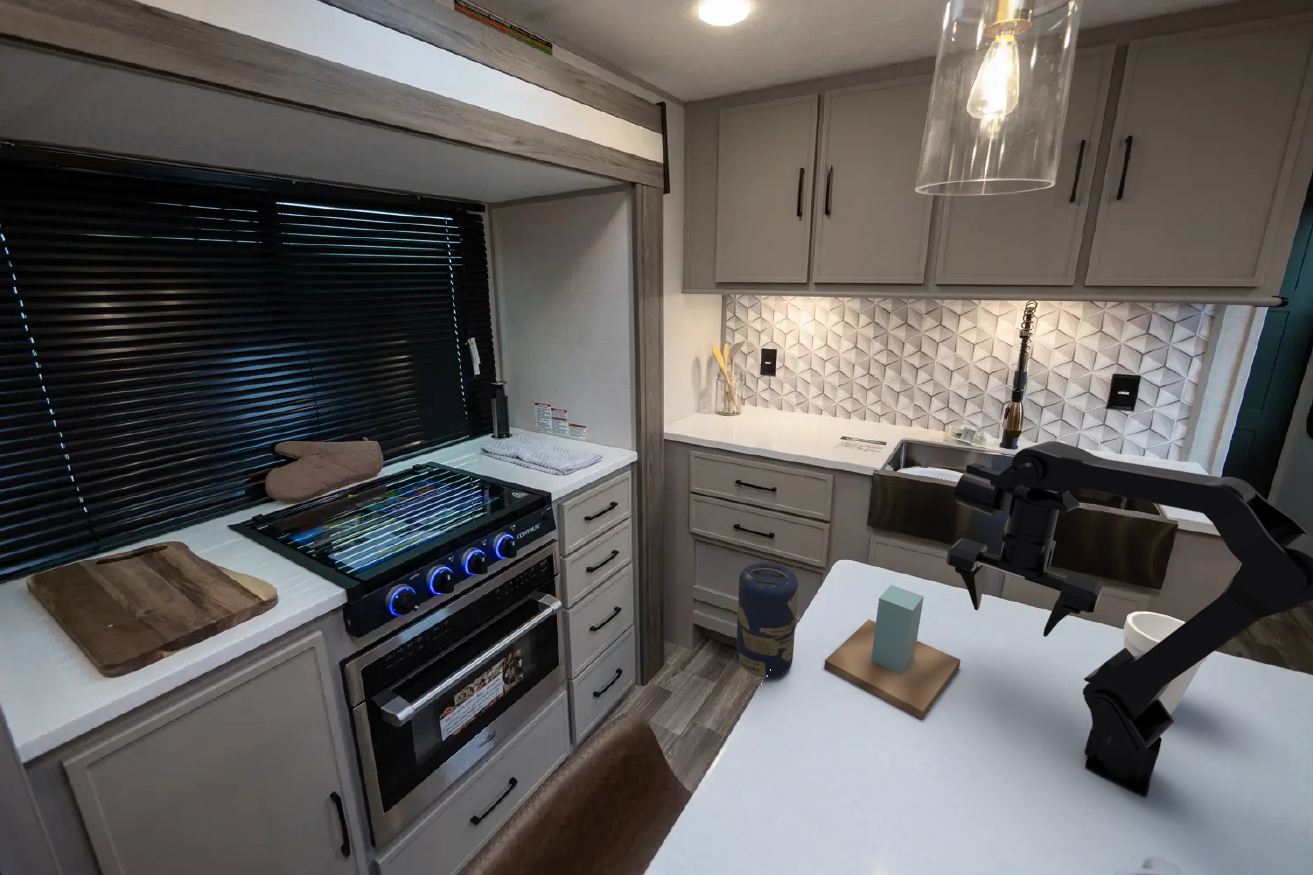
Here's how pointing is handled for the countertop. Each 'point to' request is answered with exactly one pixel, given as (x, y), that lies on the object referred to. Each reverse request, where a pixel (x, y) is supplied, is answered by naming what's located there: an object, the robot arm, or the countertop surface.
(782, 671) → the canister
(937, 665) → the stand
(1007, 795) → the countertop surface
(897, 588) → the tall sage green block
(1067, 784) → the countertop surface
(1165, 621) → the foam cup
